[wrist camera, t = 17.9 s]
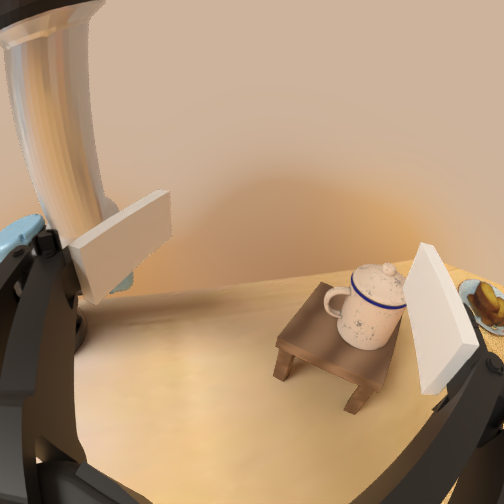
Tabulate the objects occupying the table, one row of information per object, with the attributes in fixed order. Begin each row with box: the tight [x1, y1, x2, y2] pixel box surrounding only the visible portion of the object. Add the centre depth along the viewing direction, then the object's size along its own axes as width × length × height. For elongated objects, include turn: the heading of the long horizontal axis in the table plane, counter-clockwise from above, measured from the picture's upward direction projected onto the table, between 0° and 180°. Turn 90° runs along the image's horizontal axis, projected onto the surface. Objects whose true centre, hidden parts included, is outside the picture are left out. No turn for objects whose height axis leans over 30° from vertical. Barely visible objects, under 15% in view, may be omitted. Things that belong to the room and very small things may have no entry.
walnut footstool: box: [273, 282, 402, 414], centre depth 41 cm, size 16×16×10 cm
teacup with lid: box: [324, 263, 407, 350], centre depth 35 cm, size 12×9×12 cm
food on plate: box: [458, 279, 504, 336], centre depth 55 cm, size 25×10×25 cm
